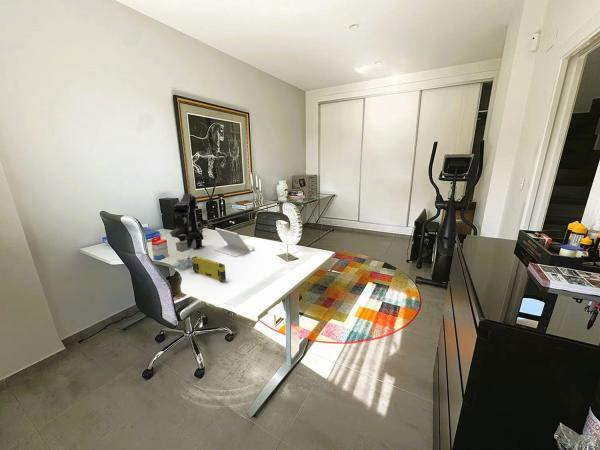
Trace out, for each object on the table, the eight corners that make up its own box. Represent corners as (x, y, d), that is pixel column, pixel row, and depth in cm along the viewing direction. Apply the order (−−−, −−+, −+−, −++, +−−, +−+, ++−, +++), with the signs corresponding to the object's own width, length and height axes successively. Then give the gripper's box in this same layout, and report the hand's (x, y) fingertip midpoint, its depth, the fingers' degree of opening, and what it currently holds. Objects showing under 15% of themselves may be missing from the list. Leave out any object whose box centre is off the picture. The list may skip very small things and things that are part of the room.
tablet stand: (235, 257, 168) (234, 234, 163) (214, 250, 182) (212, 228, 178) (255, 250, 182) (254, 228, 178) (233, 244, 196) (232, 223, 192)
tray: (193, 258, 166) (193, 253, 165) (204, 261, 161) (204, 256, 160) (171, 266, 152) (170, 261, 152) (182, 270, 147) (182, 264, 146)
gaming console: (228, 280, 135) (226, 263, 132) (222, 283, 131) (220, 266, 129) (198, 270, 147) (196, 254, 145) (191, 273, 144) (190, 257, 141)
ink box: (159, 260, 163) (156, 239, 159) (153, 259, 164) (150, 238, 160) (169, 255, 171) (166, 235, 167) (162, 255, 172) (160, 235, 168)
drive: (190, 246, 160) (189, 238, 158) (196, 247, 157) (195, 239, 156) (176, 250, 151) (175, 242, 150) (182, 251, 149) (181, 243, 147)
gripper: (162, 224, 148) (165, 248, 152) (181, 227, 139) (184, 253, 143) (178, 220, 157) (181, 243, 161) (198, 223, 148) (200, 248, 152)
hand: (186, 247), depth 154 cm, fingers closed on drive, 5 cm apart
